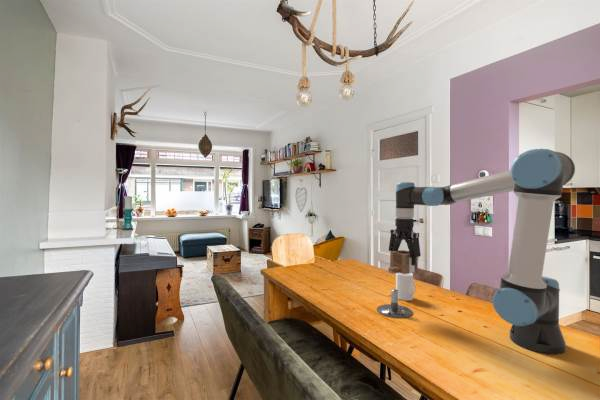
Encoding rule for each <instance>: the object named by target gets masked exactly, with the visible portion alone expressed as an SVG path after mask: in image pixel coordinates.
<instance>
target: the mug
mask: <svg viewBox="0 0 600 400" xmlns="http://www.w3.org/2000/svg"><path fill="white" fill-rule="evenodd" d="M395 289H397V290H398V301H399V300H400V301H405V302H406V301H413V300H414V299H415V298H414V294H416V291H417V285H416V283H415V281H414V273H407V274H403V273H400V272H399V273H395Z"/></svg>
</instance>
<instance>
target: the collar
mask: <svg viewBox="0 0 600 400" xmlns="http://www.w3.org/2000/svg"><path fill="white" fill-rule="evenodd" d="M389 252H390V258H389V259H390V260H389V261H390V263H389V267H388V269H387V271H388V273H389V274H396V273H399V272H400V273H403V274H407V273H409V257H411V256H410V252H409V250H405V249H401V250H399V249H398V251H389ZM418 260H419V257H416V265H415V272H414V273H417V272H418V271H419V270H418V266H419V265H418V264H419V263H418V262H419V261H418Z"/></svg>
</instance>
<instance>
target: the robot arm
mask: <svg viewBox="0 0 600 400" xmlns="http://www.w3.org/2000/svg"><path fill="white" fill-rule="evenodd" d="M575 173H576V165H575V163H574V161H573V159H572V158H571V157H570V156H568V155H566V153H563V152H559V151H554V150H551V149H549V148H533V149H529V150H526V151H524V152H522V153H520V154H519V155H518V156H516V158H515V159H514V160H513V161H512V164H511V166H510V170H506V171H502V172H498V173H494V174H489V175H486V176H481V177H479V178H478V177H477V178H474V179H470V180H466V181H462V182H458V183H454V184H450V185H446V186H416V185H415V183H414V182H410V181H409V182H407V181H406V182H405V181H401V182H397V183H396V187H395V217H396V218H395V220H394V221H395V223H394V224H395V229H394V228H393V229H390V237H389V238H390V239H389V243H388V251H389V252H391V251H399V249H400V246H401V245H402V241H403V240H404V241H405V243H406V247H407V249H408V251H409V252H410V256H411V257H409V273H412V274H414V273H416V272H415V265H416V257H418V258H419V257H421V248H420V239H419V238H420V232H415V231H414V229H413V228H414V227H415V223H414V222H415V221H414V217H415V206H417V205H418V206H419V205H420V206H427V207H436V206H443V205H444V206H447V205H453V204H456V203H461V202H464V201H468V200H469V201H470V200H475V199H480V198H485V197H490V196H496V195H501V194H505V193H511V192H513V193H514V195H515V196H516V197H517V199H518V201H517V205H516V206H517V207H516V212H515V220H514V227H513V234H512V240H511V241H512V242H511V249H510V254H509V263H508V270H507V272H505V273H503V274H501V278H500V284H499V288H498V289H496V291H495V292H494V294H493V296H492V307H493V309H494V311H495V312H496V313H497V314H498V317H500V318H501V319H503V321H505V322H507V323H508V324H511V327H510V329H509V338H510V340H511V342H513V343H515V344H516V345H517V346H519V347H522V348H524V349H527V350H530V349H531V350H530V351H533V350H535V351H534V352H537V351H538V353H541V352H545V353H544V354H548V353H560V354H562V352H563V353H565V352H566V350H567V349H566V344H567V343H566V341H565V339H564V335H563V332H562V330H561V327H560V323H559V322H560V318H559V317H560V291H561V289H560V283H559V281H558V280H557V279H555V278H551V277H547V276H543V274H544V273H543V271H544V265H545V259H546V252H547V246H548V239H549V232H550V227H551V223H552V222H551V221H552V214H553V208H554V202H555V201H556V200H558V199H560V198H562V194H563V188H564V186H566V184H568V183H569V182H570V181H571V180H572V179H573V178H574V175H575ZM565 349H566V350H565ZM564 351H565V352H564Z"/></svg>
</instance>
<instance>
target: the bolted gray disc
mask: <svg viewBox="0 0 600 400" xmlns="http://www.w3.org/2000/svg"><path fill="white" fill-rule="evenodd" d="M376 311H377V312H378V314H380V315H382V316H385V317H389V318H395V319H406V318H410V317H411V316H413V313H414V312H413V310H412V309H411V308H409V307H407V306H404V305H400V304H399V299H398V290H397V289H396V288H391V289H390V303H387V304H386V303H385V304H382V305H378V306H377V308H376Z"/></svg>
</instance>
